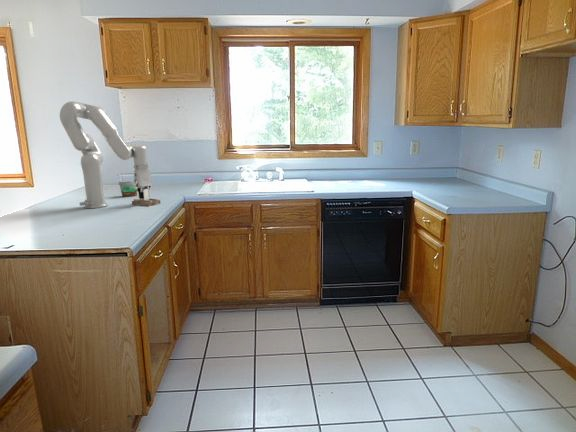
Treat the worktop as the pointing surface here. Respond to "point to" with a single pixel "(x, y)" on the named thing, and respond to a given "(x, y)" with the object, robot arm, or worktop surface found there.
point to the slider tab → (145, 193)
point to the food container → (128, 189)
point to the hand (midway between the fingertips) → (144, 197)
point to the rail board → (146, 202)
